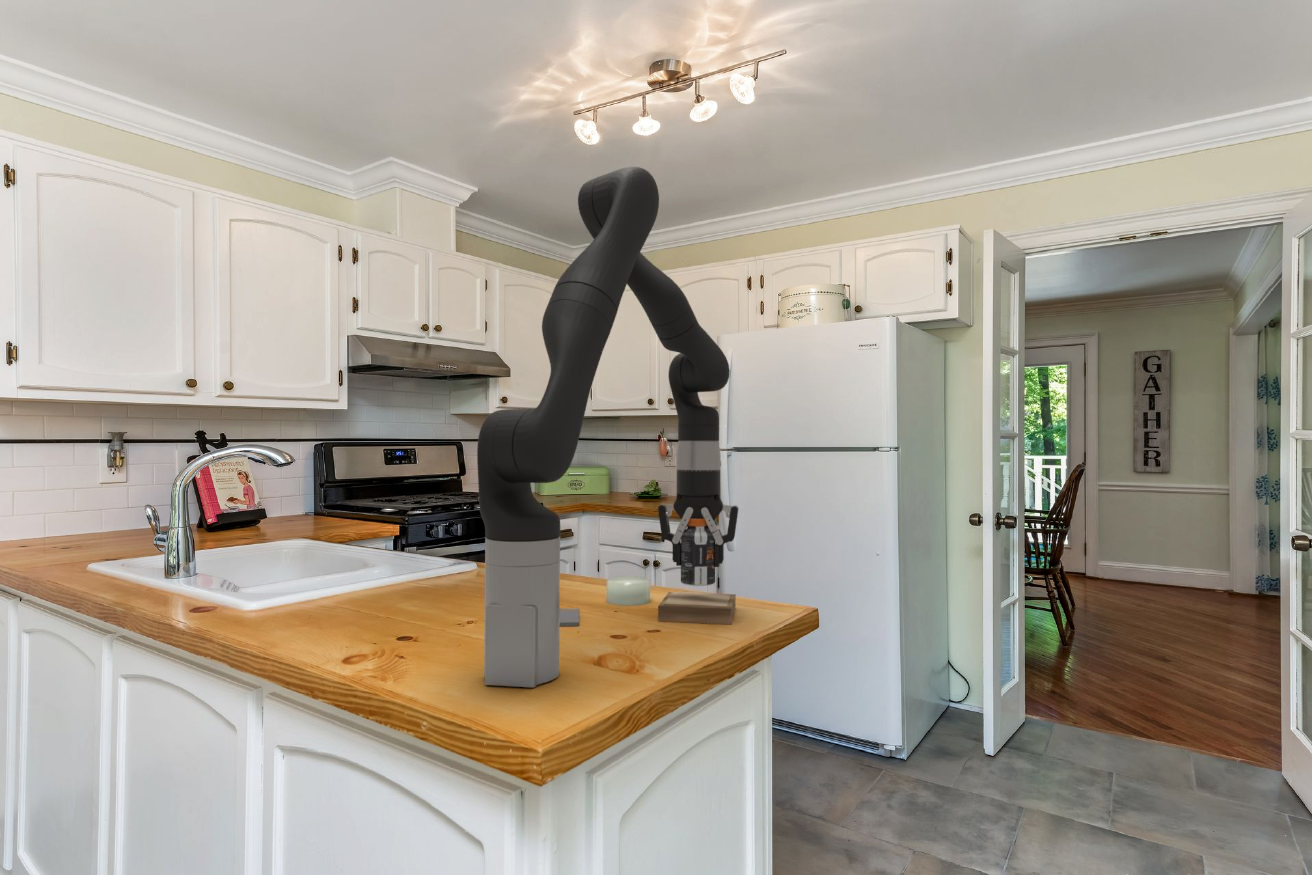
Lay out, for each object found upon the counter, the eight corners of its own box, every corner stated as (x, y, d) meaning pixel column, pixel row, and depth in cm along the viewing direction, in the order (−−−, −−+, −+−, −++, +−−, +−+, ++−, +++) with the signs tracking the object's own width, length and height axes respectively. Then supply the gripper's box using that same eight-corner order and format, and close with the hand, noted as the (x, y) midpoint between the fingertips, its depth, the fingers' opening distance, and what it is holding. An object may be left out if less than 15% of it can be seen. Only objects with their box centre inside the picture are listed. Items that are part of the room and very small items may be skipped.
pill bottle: (713, 587, 124) (713, 519, 124) (677, 585, 125) (678, 518, 125) (717, 581, 130) (717, 516, 130) (683, 579, 131) (683, 515, 131)
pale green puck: (645, 607, 134) (645, 584, 134) (602, 605, 135) (602, 583, 135) (653, 598, 142) (653, 577, 142) (612, 596, 143) (612, 575, 143)
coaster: (579, 625, 119) (579, 622, 119) (515, 627, 118) (515, 623, 118) (579, 612, 129) (579, 608, 129) (520, 613, 128) (520, 609, 128)
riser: (731, 624, 120) (731, 607, 120) (658, 621, 122) (658, 604, 122) (735, 608, 132) (735, 593, 132) (668, 605, 134) (668, 590, 134)
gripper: (653, 467, 125) (653, 568, 125) (739, 468, 123) (739, 570, 122) (660, 466, 132) (660, 561, 132) (741, 467, 130) (741, 563, 130)
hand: (698, 565), depth 127 cm, fingers closed on pill bottle, 6 cm apart
